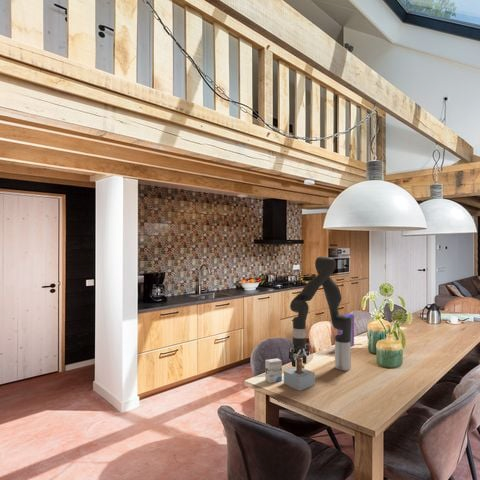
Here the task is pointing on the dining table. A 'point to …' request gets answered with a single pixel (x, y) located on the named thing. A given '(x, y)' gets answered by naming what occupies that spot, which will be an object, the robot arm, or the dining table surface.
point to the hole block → (299, 379)
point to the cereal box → (351, 329)
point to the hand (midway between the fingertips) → (299, 365)
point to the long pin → (299, 366)
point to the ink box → (273, 370)
